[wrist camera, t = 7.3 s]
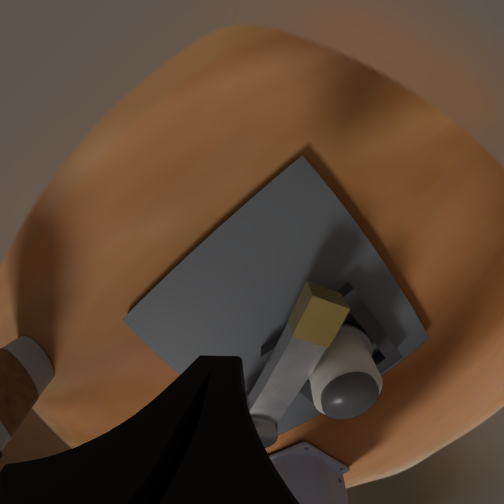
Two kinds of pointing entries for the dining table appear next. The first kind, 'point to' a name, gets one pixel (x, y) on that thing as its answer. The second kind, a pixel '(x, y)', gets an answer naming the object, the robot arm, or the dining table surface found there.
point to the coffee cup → (20, 383)
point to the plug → (346, 375)
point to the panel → (275, 285)
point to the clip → (295, 356)
